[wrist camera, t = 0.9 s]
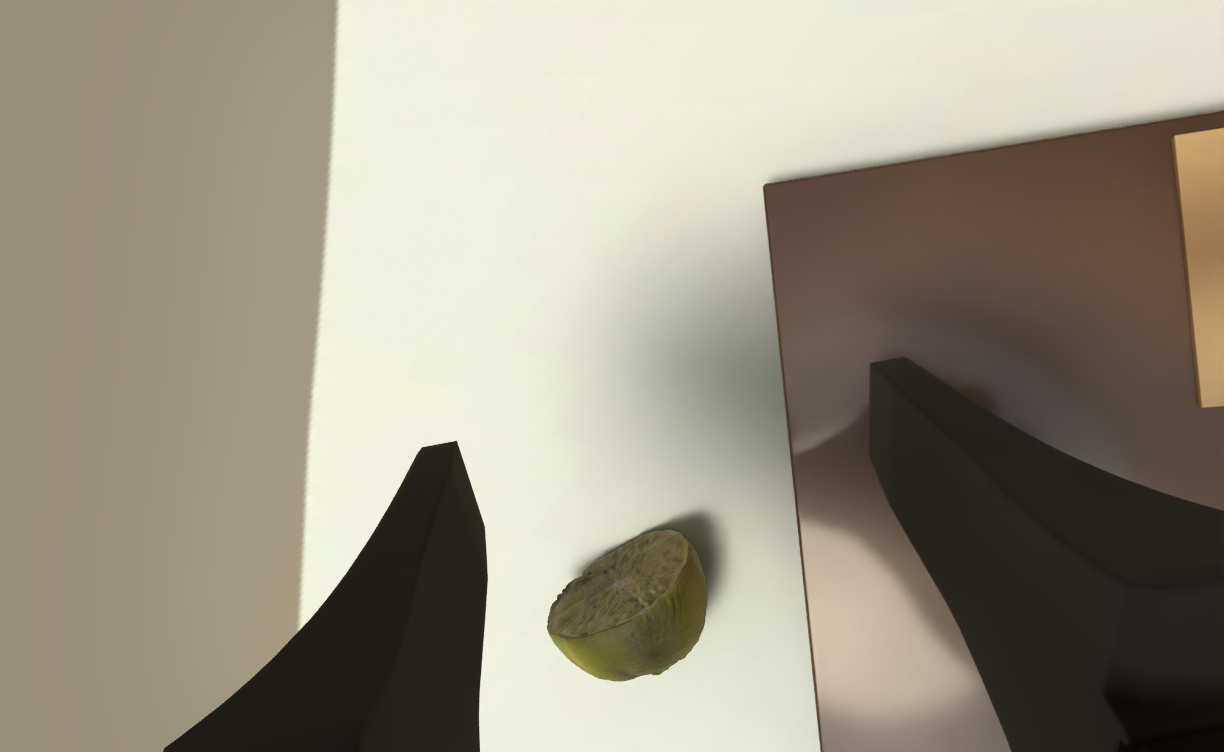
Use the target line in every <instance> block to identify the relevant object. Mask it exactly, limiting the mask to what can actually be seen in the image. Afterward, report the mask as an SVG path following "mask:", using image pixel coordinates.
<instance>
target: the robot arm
mask: <svg viewBox="0 0 1224 752" xmlns="http://www.w3.org/2000/svg"><path fill="white" fill-rule="evenodd" d="M869 456H870V459H871V461H872V464H873V467H874V469H875V472H876V474H877V477H878V479H879V482H880V484H881V487H882V489H883V491H884V494H885V496H886V498H887V501H888V503H889V505H890V507H891V509H892V510H893V512H894V514H895V516H896V517H897V519H898V521H899V523H900V524H901V526H902V528H903V530H904V531H905V533H906V535H907V537H908V538H909V540H910V542H911V544H912V545H913V547H914V549H915V550H916V552H917V554H918V556H919V557H920V559H921V561H922V562H923V564H924V566H925V568H926V569H927V571H928V573H929V574H930V576H931V578H932V580H933V581H934V583H935V585H936V586H937V588H938V590H939V592H940V593H941V595H942V597H943V598H944V600H945V602H946V604H947V605H948V607H949V609H950V611H951V613H952V615H953V617H954V619H955V621H956V623H957V625H958V627H959V629H960V631H961V633H962V636H963V638H964V640H965V642H966V645H967V647H968V649H969V651H970V654H971V656H972V658H973V660H974V663H975V665H976V667H977V669H978V672H979V674H980V676H981V679H982V681H983V683H984V686H985V688H986V690H987V693H988V695H989V698H990V700H991V702H992V705H993V707H994V710H995V712H996V714H997V717H998V719H999V722H1000V724H1001V726H1002V729H1003V731H1004V734H1005V737H1006V739H1007V742H1008V744H1009V747H1010V749H1011V752H1224V511H1223V510H1219V509H1216V508H1212V507H1209V506H1205V505H1202V504H1198V503H1194V502H1191V501H1188V500H1185V499H1182V498H1178V497H1175V496H1172V495H1169V494H1166V493H1163V492H1160V491H1157V490H1154V489H1152V488H1149V487H1146V486H1143V485H1141V484H1138V483H1135V482H1132V481H1130V480H1127V479H1124V478H1122V477H1119V476H1117V475H1114V474H1112V473H1109V472H1107V471H1104V470H1102V469H1100V468H1097V467H1095V466H1093V465H1091V464H1088V463H1086V462H1084V461H1082V460H1080V459H1077V458H1075V457H1073V456H1071V455H1068V454H1066V453H1064V452H1062V451H1060V450H1058V449H1056V448H1054V447H1052V446H1050V445H1048V444H1046V443H1044V442H1042V441H1040V440H1039V439H1037V438H1035V437H1033V436H1031V435H1029V434H1028V433H1026V432H1024V431H1022V430H1020V429H1018V428H1017V427H1015V426H1013V425H1011V424H1010V423H1008V422H1006V421H1004V420H1003V419H1001V418H999V417H998V416H996V415H994V414H993V413H991V412H989V411H988V410H986V409H985V408H983V407H981V406H980V405H978V404H977V403H975V402H973V401H972V400H970V399H969V398H967V397H966V396H964V395H963V394H961V393H959V392H958V391H956V390H955V389H953V388H952V387H950V386H949V385H947V384H946V383H944V382H943V381H941V380H940V379H938V378H937V377H935V376H934V375H932V374H931V373H929V372H928V371H926V370H925V369H923V368H922V367H920V366H919V365H917V364H916V363H914V362H913V361H911V360H910V359H908V358H907V357H899V358H894V359H889V360H883V361H878V362H873V363H870V389H869ZM487 582H488V575H487V554H486V539H485V526H484V523H483V520H482V517H481V514H480V511H479V508H478V505H477V502H476V499H475V495H474V492H473V489H472V486H471V483H470V480H469V477H468V474H467V471H466V468H465V465H464V462H463V459H462V456H461V453H460V449H459V446H458V443H457V441H454V442H448V443H443V444H438V445H433V446H427V447H422V448H421V450H420V451H419V452H418V454H417V455H416V457H415V459H414V461H413V463H412V465H411V467H410V469H409V471H408V473H407V475H406V476H405V478H404V480H403V482H402V484H401V486H400V488H399V489H398V491H397V493H396V495H395V497H394V498H393V500H392V502H391V504H390V506H389V507H388V509H387V511H386V512H385V514H384V516H383V517H382V519H381V521H380V522H379V524H378V526H377V527H376V529H375V531H374V533H373V534H372V536H371V537H370V539H369V540H368V542H367V544H366V545H365V546H364V548H363V549H362V551H361V552H360V554H359V555H358V557H357V558H356V560H355V561H354V563H353V564H352V566H351V567H350V569H349V570H348V572H347V573H346V575H345V576H344V577H343V579H342V580H341V581H340V583H339V584H338V585H337V587H336V588H335V589H334V591H333V592H332V593H331V595H330V596H329V597H328V598H327V600H326V601H325V602H324V603H323V605H322V606H321V607H320V608H319V609H318V611H317V612H316V613H315V614H314V615H313V617H312V618H311V619H310V620H309V621H308V622H307V623H306V624H305V625H304V626H303V627H302V629H301V630H300V631H299V632H298V633H297V634H296V635H295V636H294V637H293V638H292V639H291V640H290V641H289V642H288V643H287V644H286V645H285V646H284V647H283V649H282V650H281V651H280V652H279V653H278V654H277V655H276V656H275V657H274V658H273V659H272V660H271V661H270V662H269V663H268V664H267V665H266V666H264V667H263V668H262V669H261V670H260V671H259V672H258V673H257V674H256V675H255V676H254V677H253V678H252V679H251V680H249V681H248V682H247V683H246V684H245V685H244V686H242V687H241V688H240V689H239V690H238V691H237V692H236V693H235V694H234V695H232V696H231V697H230V698H229V699H228V700H226V701H225V702H224V703H223V704H222V705H220V706H219V707H218V708H217V709H215V710H214V711H213V712H212V713H210V714H209V715H208V716H206V717H205V718H204V719H203V720H201V721H200V722H199V723H197V724H196V725H195V726H193V727H192V728H191V729H190V730H188V731H187V732H186V733H184V734H183V735H182V736H181V737H179V738H178V739H177V740H175V741H174V742H173V743H171V744H170V745H168V746H167V747H165V749H164V751H163V752H480V740H479V692H480V679H481V665H482V652H483V639H484V626H485V612H486V597H487Z"/></svg>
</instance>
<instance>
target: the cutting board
mask: <svg viewBox="0 0 1224 752" xmlns="http://www.w3.org/2000/svg"><path fill="white" fill-rule="evenodd" d="M763 193H764V203H765V213H766V223H767V232H768V242H769V252H770V262H771V271H772V281H773V291H774V301H775V311H776V320H777V330H778V340H779V350H780V359H781V369H782V379H783V389H784V398H785V408H786V418H787V428H788V438H789V447H790V457H791V467H792V477H793V486H794V496H795V506H796V516H797V525H798V535H799V545H800V555H801V565H802V574H803V584H804V594H805V604H806V613H807V623H808V633H809V643H810V652H811V662H812V672H813V682H814V692H815V701H816V711H817V721H818V731H819V740H820V750H821V752H1011V749H1010V747H1009V744H1008V742H1007V739H1006V737H1005V734H1004V731H1003V729H1002V726H1001V724H1000V722H999V719H998V717H997V714H996V712H995V710H994V707H993V705H992V702H991V700H990V698H989V695H988V693H987V690H986V688H985V686H984V683H983V681H982V679H981V676H980V674H979V672H978V669H977V667H976V665H975V663H974V660H973V658H972V656H971V654H970V651H969V649H968V647H967V645H966V642H965V640H964V638H963V636H962V633H961V631H960V629H959V627H958V625H957V623H956V621H955V619H954V617H953V615H952V613H951V611H950V609H949V607H948V605H947V604H946V602H945V600H944V598H943V597H942V595H941V593H940V592H939V590H938V588H937V586H936V585H935V583H934V581H933V580H932V578H931V576H930V574H929V573H928V571H927V569H926V568H925V566H924V564H923V562H922V561H921V559H920V557H919V556H918V554H917V552H916V550H915V549H914V547H913V545H912V544H911V542H910V540H909V538H908V537H907V535H906V533H905V531H904V530H903V528H902V526H901V524H900V523H899V521H898V519H897V517H896V516H895V514H894V512H893V510H892V509H891V507H890V505H889V503H888V501H887V498H886V496H885V494H884V491H883V489H882V487H881V484H880V482H879V479H878V477H877V474H876V472H875V469H874V467H873V464H872V461H871V459H870V456H869V389H870V363H873V362H878V361H883V360H889V359H894V358H899V357H907V358H908V359H910V360H911V361H913V362H914V363H916V364H917V365H919V366H920V367H922V368H923V369H925V370H926V371H928V372H929V373H931V374H932V375H934V376H935V377H937V378H938V379H940V380H941V381H943V382H944V383H946V384H947V385H949V386H950V387H952V388H953V389H955V390H956V391H958V392H959V393H961V394H963V395H964V396H966V397H967V398H969V399H970V400H972V401H973V402H975V403H977V404H978V405H980V406H981V407H983V408H985V409H986V410H988V411H989V412H991V413H993V414H994V415H996V416H998V417H999V418H1001V419H1003V420H1004V421H1006V422H1008V423H1010V424H1011V425H1013V426H1015V427H1017V428H1018V429H1020V430H1022V431H1024V432H1026V433H1028V434H1029V435H1031V436H1033V437H1035V438H1037V439H1039V440H1040V441H1042V442H1044V443H1046V444H1048V445H1050V446H1052V447H1054V448H1056V449H1058V450H1060V451H1062V452H1064V453H1066V454H1068V455H1071V456H1073V457H1075V458H1077V459H1080V460H1082V461H1084V462H1086V463H1088V464H1091V465H1093V466H1095V467H1097V468H1100V469H1102V470H1104V471H1107V472H1109V473H1112V474H1114V475H1117V476H1119V477H1122V478H1124V479H1127V480H1130V481H1132V482H1135V483H1138V484H1141V485H1143V486H1146V487H1149V488H1152V489H1154V490H1157V491H1160V492H1163V493H1166V494H1169V495H1172V496H1175V497H1178V498H1182V499H1185V500H1188V501H1191V502H1194V503H1198V504H1202V505H1205V506H1209V507H1212V508H1216V509H1219V510H1223V511H1224V110H1222V111H1216V112H1210V113H1204V114H1197V115H1191V116H1185V117H1179V118H1173V119H1166V120H1160V121H1154V122H1148V123H1141V124H1135V125H1129V126H1123V127H1117V128H1110V129H1104V130H1098V131H1092V132H1086V133H1079V134H1073V135H1067V136H1061V137H1054V138H1048V139H1042V140H1036V141H1030V142H1023V143H1017V144H1011V145H1005V146H998V147H992V148H986V149H980V150H974V151H967V152H961V153H955V154H949V155H942V156H936V157H930V158H924V159H918V160H911V161H905V162H899V163H893V164H887V165H880V166H874V167H868V168H862V169H855V170H849V171H843V172H837V173H831V174H824V175H818V176H812V177H806V178H799V179H793V180H787V181H781V182H775V183H768V184H765V185H764V186H763Z"/></svg>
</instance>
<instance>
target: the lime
mask: <svg viewBox="0 0 1224 752" xmlns="http://www.w3.org/2000/svg"><path fill="white" fill-rule="evenodd" d="M706 606H707V589H706V583H705V579H704V574H703V570H702V567H701V564H700V560H699V557H698V555H697V552H696V551H695V549H694V548H693V546H692V544H691V543H690V542H689V541H688V540H687V538H686V537H685V536H684V535H683V534H682V533H680V532H676V531H672V530H669V529H666V530H662V531H652V532H649V533H646V534H643V535H641V536H639V537H637V538H636V539H635V540H632V541H630V542H628V543H627V544H625V545H623V546H621V547H619V548H618V549H616V550H614V551H613V552H611V553H610V554H607V555H605V556H603V557H602V558H600V559H599V560H598V561H596V562H595V563H594V564H593V565H592V566H591V567H590V568H589V569H587V570H586V571H585V572H583V573H582V576H580V577H579V578H576V579H574V580H573V581H571V582H570V583H568V585H567V586H566V588H565V589H563V590H562V594H559V595H558V596H557V600H556V601H555V602H554V603H553V604H552V606H551V609H550V610H551V611H550V613H549V616H548V625H547V630H548V633H549V635H550V637H551V638H552V640H553V642H554V643H555V645H556V646H557V647H558V648H559V650H560V651H561V652H562V653H563V654H564V655H565V656H566V657H567V658H568V659H569V660H570V661H571V662H573V663H574V664H575V665H576V666H578V667H579V668H581V669H582V670H584V671H585V672H587V673H589V674H591V675H593V676H595V677H597V678H599V679H604V680H611V681H627V680H631V679H634V678H636V677H639V676H643V675H648V674H652V675H659V674H661V673H662V672H664V671H665V670H667V669H669V667H670V666H672V665H673V664H675V663H677V661H679V660H681V659H683V658H685V657H686V655H687V654H688V653H689V652H690V651H691V650H692V648H693V647H694V645H695V644H696V643H697V642H698V641H699V637H700V635H701V633H702V630H703V627H704V623H705V615H706Z"/></svg>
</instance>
